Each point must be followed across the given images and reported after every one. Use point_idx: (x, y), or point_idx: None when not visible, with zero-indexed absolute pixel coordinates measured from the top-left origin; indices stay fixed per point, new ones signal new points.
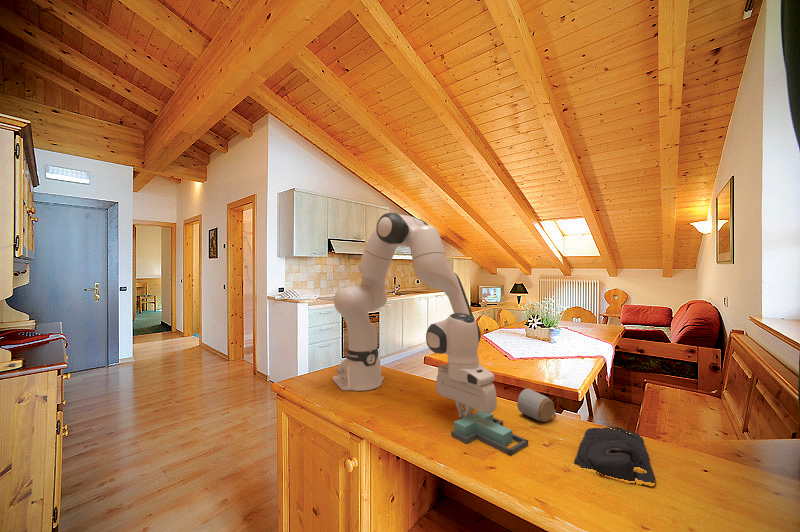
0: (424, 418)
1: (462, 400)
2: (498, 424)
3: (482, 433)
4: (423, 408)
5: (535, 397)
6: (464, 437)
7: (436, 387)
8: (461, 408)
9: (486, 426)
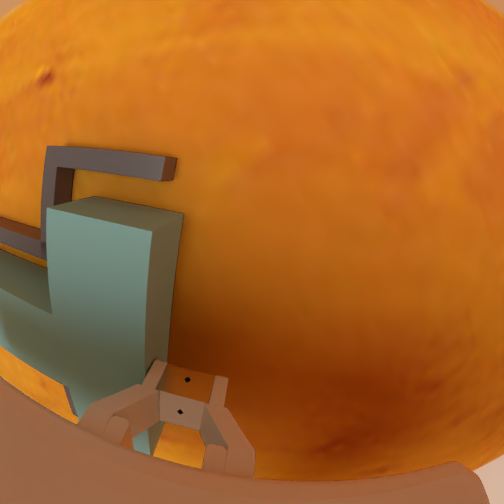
0: (456, 269)
1: (100, 472)
2: (3, 347)
3: (41, 277)
4: (479, 356)
5: None
6: (61, 153)
7: (484, 492)
8: (209, 433)
9: (3, 299)
